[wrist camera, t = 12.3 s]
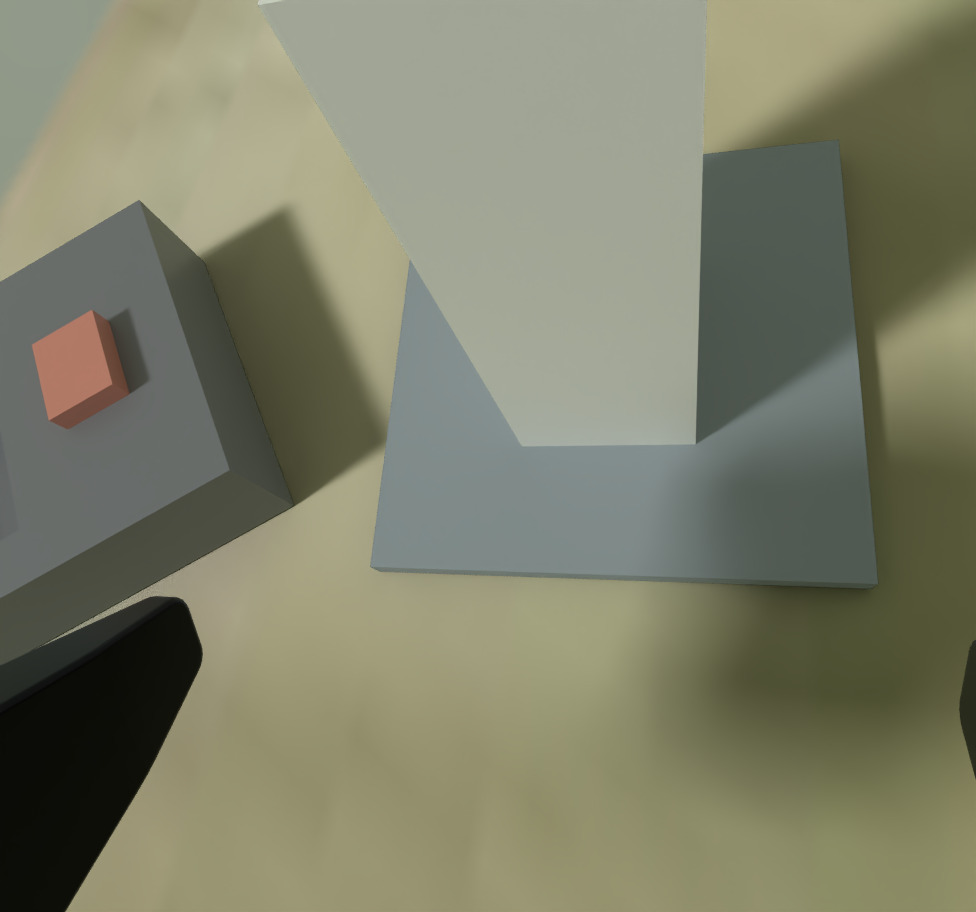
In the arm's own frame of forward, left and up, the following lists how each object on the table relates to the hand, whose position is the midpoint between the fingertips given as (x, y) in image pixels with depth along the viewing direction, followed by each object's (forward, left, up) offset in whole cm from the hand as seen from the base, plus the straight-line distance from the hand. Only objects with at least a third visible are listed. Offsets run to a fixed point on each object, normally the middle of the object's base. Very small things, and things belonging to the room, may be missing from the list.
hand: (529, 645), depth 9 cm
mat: (+2, -7, -8) cm, 11 cm away
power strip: (+18, +1, -8) cm, 20 cm away
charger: (+2, -7, -8) cm, 11 cm away
